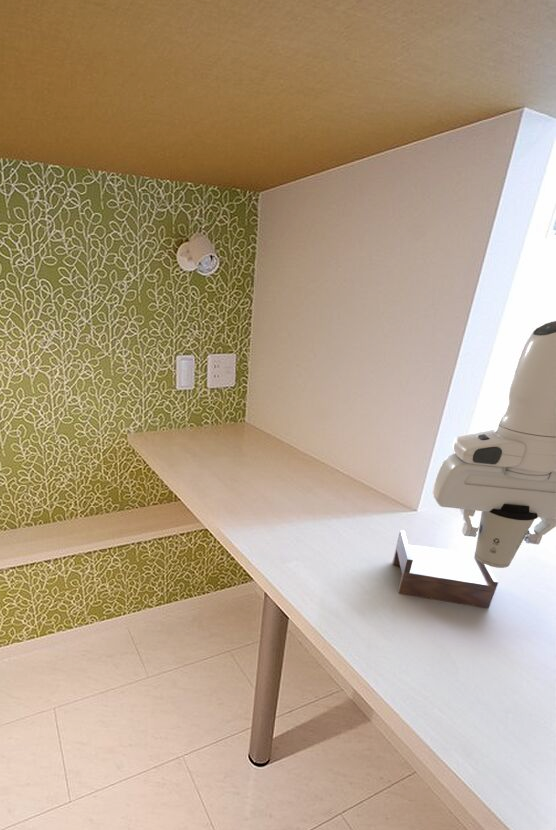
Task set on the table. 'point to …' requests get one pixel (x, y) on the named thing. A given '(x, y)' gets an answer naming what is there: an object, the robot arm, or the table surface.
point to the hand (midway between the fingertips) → (498, 538)
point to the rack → (443, 574)
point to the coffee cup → (502, 534)
